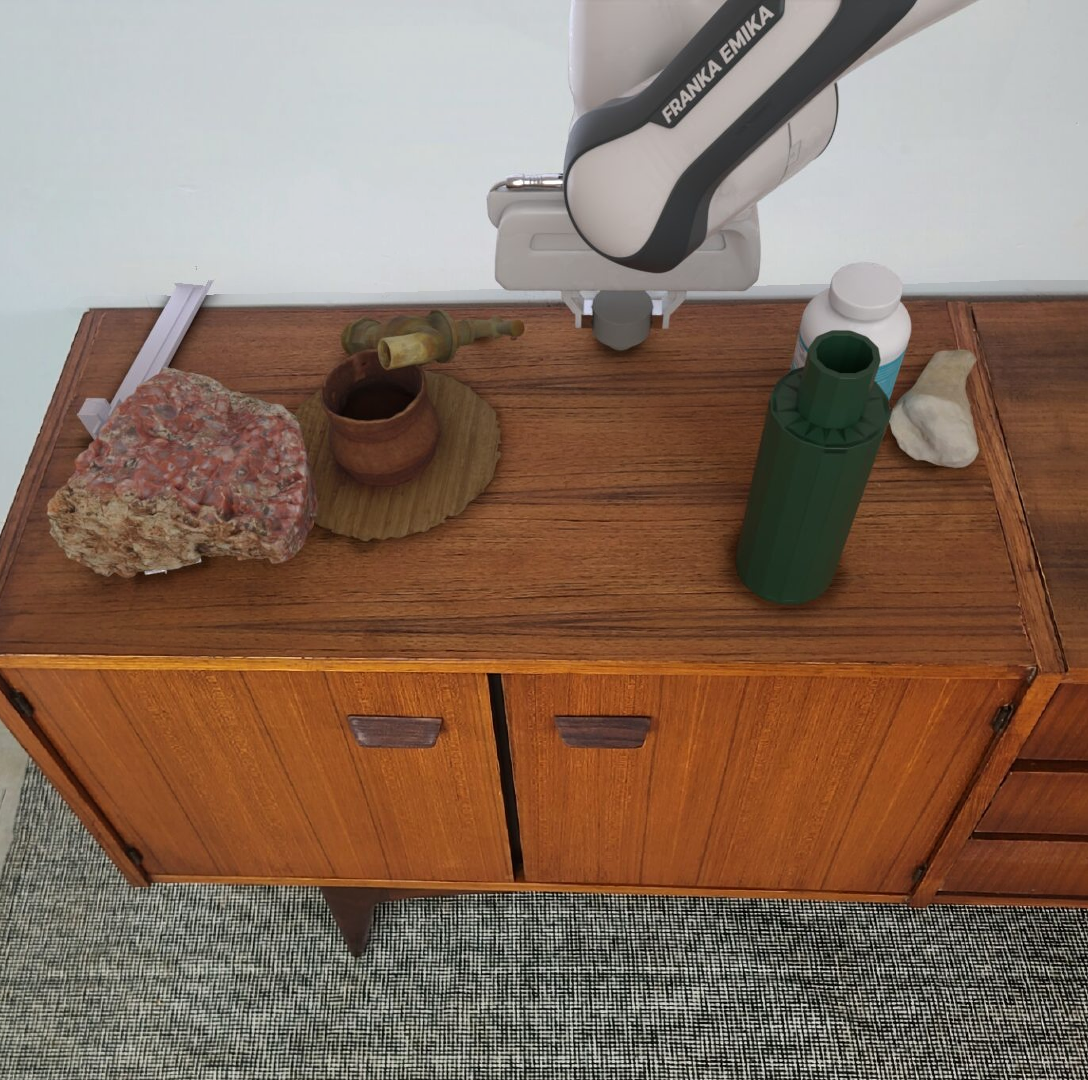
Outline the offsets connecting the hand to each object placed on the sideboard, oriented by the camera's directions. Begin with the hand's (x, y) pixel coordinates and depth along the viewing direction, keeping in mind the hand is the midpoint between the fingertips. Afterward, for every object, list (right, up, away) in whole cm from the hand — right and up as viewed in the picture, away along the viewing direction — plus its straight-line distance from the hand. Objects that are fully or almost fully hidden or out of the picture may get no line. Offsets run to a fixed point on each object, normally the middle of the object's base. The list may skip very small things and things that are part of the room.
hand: (622, 323), depth 88 cm
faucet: (-22, -4, -7) cm, 24 cm away
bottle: (+10, -20, -12) cm, 25 cm away
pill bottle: (+15, -9, -5) cm, 18 cm away
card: (-32, -19, -8) cm, 38 cm away
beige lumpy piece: (+24, -9, -5) cm, 26 cm away
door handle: (-41, -1, +3) cm, 41 cm away
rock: (-30, -8, -6) cm, 31 cm away
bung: (0, -1, +2) cm, 2 cm away
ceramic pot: (-19, -11, -4) cm, 22 cm away
